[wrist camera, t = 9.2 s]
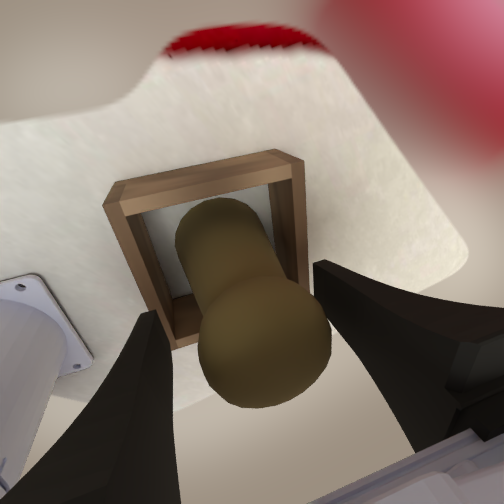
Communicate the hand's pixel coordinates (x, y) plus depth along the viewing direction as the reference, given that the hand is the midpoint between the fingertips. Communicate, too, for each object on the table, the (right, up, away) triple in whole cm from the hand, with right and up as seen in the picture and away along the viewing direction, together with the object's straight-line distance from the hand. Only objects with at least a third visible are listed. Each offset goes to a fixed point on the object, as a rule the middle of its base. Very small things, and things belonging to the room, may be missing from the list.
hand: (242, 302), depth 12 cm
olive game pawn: (-2, +3, +6) cm, 7 cm away
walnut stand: (-2, +3, +6) cm, 7 cm away
